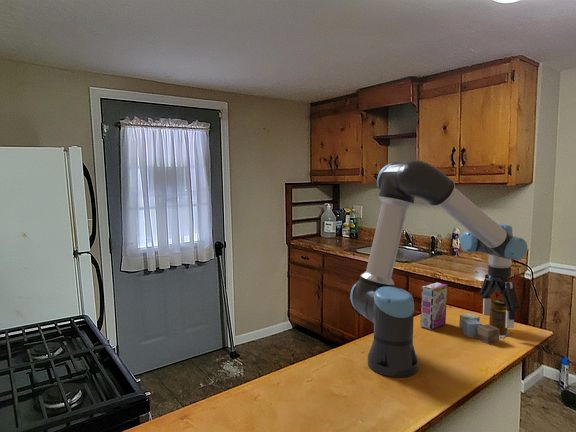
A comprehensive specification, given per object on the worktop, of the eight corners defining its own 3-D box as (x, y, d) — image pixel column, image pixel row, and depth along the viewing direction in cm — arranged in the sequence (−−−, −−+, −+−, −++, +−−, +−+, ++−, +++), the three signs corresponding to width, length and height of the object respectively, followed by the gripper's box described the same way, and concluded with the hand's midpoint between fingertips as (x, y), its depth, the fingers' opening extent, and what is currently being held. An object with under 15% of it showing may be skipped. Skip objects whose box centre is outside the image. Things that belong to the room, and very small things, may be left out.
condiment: (510, 332, 147) (512, 301, 146) (503, 338, 141) (504, 306, 140) (490, 327, 152) (491, 297, 151) (482, 332, 146) (483, 301, 145)
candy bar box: (431, 331, 148) (433, 289, 147) (420, 327, 152) (421, 286, 150) (446, 324, 155) (448, 284, 154) (435, 320, 159) (436, 281, 158)
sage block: (470, 331, 147) (470, 319, 147) (459, 327, 152) (459, 315, 152) (479, 329, 150) (479, 317, 149) (468, 325, 154) (468, 313, 154)
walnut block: (487, 344, 136) (488, 330, 135) (476, 339, 141) (477, 325, 140) (499, 342, 137) (499, 329, 137) (488, 337, 142) (488, 324, 142)
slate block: (468, 337, 142) (468, 324, 142) (462, 332, 147) (462, 319, 147) (481, 337, 142) (482, 324, 142) (475, 332, 147) (475, 319, 147)
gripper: (533, 273, 132) (530, 333, 134) (488, 258, 157) (486, 309, 159) (512, 273, 132) (510, 334, 134) (471, 259, 156) (469, 310, 158)
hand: (497, 321), depth 146 cm, fingers open, 13 cm apart
